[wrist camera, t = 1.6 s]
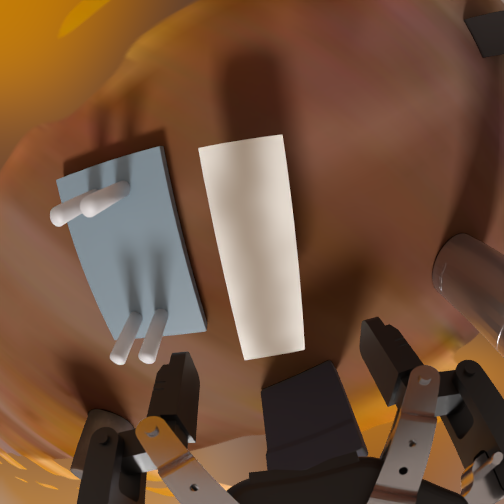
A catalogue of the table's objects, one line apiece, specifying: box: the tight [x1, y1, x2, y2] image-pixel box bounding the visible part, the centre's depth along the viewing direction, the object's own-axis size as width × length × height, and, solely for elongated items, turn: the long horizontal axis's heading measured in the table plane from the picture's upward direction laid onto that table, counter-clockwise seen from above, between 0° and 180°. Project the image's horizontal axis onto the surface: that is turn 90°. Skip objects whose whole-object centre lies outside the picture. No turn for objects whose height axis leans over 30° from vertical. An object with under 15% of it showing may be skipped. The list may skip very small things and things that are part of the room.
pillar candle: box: [70, 409, 134, 479], centre depth 33 cm, size 10×10×15 cm
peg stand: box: [50, 146, 207, 365], centre depth 24 cm, size 12×20×8 cm, turn 9°
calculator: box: [261, 360, 368, 470], centre depth 30 cm, size 11×4×15 cm, turn 119°
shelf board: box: [198, 135, 305, 360], centre depth 22 cm, size 6×18×3 cm, turn 9°
